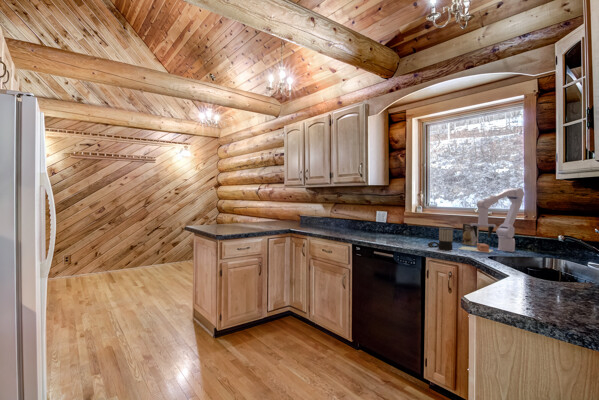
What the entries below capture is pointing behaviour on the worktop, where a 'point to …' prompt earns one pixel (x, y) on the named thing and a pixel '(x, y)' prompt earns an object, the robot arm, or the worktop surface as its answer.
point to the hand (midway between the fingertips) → (482, 237)
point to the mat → (473, 249)
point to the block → (483, 247)
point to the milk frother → (444, 239)
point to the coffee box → (469, 235)
